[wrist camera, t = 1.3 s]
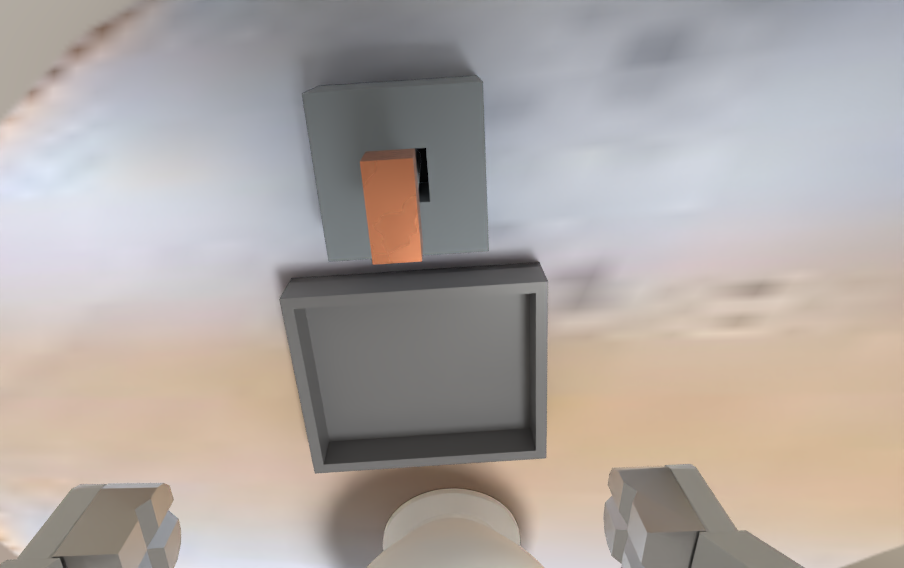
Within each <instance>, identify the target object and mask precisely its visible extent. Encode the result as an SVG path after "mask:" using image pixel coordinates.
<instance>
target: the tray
mask: <svg viewBox="0 0 904 568" xmlns="http://www.w3.org/2000/svg"><path fill="white" fill-rule="evenodd" d="M280 304H281V309H282V314H283V319H284V324H285V329H286V334H287V339H288V344H289V349H290V353H291V358H292V363H293V368H294V373H295V378H296V383H297V388H298V393H299V398H300V403H301V408H302V413H303V417H304V422H305V427H306V432H307V437H308V442H309V447H310V452H311V457H312V462H313V467H314V472H315V473H329V472H344V471H359V470H374V469H390V468H405V467H420V466H435V465H451V464H466V463H481V462H496V461H511V460H527V459H542V458H546V436H547V334H548V280H547V278H546V276H545V274H544V272H543V269H542V267H541V265H540V263H539V262H535V263H520V264H505V265H490V266H474V267H459V268H444V269H429V270H413V271H398V272H383V273H368V274H352V275H337V276H322V277H307V278H292V279H291V280H290V282H289V284H288V285H287V287H286V289H285V291H284V292H283V294H282V296H281V297H280Z"/></svg>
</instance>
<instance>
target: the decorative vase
mask: <svg viewBox="0 0 904 568" xmlns="http://www.w3.org/2000/svg"><path fill="white" fill-rule="evenodd" d="M367 568H544V567H543V566H542V565H541V564H540V563H539V562H538V561H537V560H536V559H535V558H534V557H533V556H532V555H531V554H529V553H528V552H527V551H526V550H524V549H523V548H522V547H520V533H519V528H518V525H517V522H516V520H515V518H514V517H513V515H512V514H511V512H510V511H509V510H508V509H507V508H506V507H505V506H504V505H503V504H502V503H500V502H499V501H497V500H496V499H494V498H492V497H490V496H488V495H486V494H483V493H480V492H477V491H473V490H467V489H457V488H450V489H439V490H434V491H430V492H426V493H423V494H421V495H418V496H416V497H414V498H412V499H410V500H408V501H407V502H405V503H404V504H403V505H401V506H400V507H399V508H398V509H397V510H396V511H395V512H394V513H393V514H392V516H391V517H390V519H389V520H388V522H387V524H386V527H385V530H384V535H383V552H382V553H381V554H380V555H379V556H378V557H377V558H375V559H374V560H373V561H372V562H371V563H370V564H369V565H368V566H367Z"/></svg>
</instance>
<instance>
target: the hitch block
mask: <svg viewBox="0 0 904 568" xmlns="http://www.w3.org/2000/svg"><path fill="white" fill-rule="evenodd" d="M302 98H303V104H304V111H305V117H306V123H307V129H308V136H309V142H310V148H311V155H312V161H313V167H314V173H315V180H316V186H317V192H318V198H319V205H320V211H321V217H322V224H323V230H324V236H325V242H326V249H327V255H328V261H329V262H333V261H348V260H364V259H372V255H371V247H370V239H369V231H368V223H367V215H366V207H365V199H364V192H363V184H362V176H361V168H360V160H361V159H362V157H363V155H364V154H365V152H367V151H382V150H398V149H413V148H415V149H416V148H426V154H427V167H428V180H429V182H423V183H419V189H418V191H419V203H420V215H421V227H422V238H423V254H422V256H425V255H440V254H455V253H470V252H486V251H489V244H488V215H487V187H486V159H485V131H484V103H483V81H482V80H481V79H480V78H479V77H478V76H462V77H447V78H432V79H417V80H401V81H386V82H371V83H356V84H340V85H325V86H318V87H315V88H313V89H311V90H308V91H306V92H304V93H302Z"/></svg>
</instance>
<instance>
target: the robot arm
mask: <svg viewBox="0 0 904 568" xmlns="http://www.w3.org/2000/svg"><path fill="white" fill-rule="evenodd" d="M608 486H609V489H610V491H611V494H612V496H611V497H610V498H609V499H608V500H607V501H606V502H605V507H604V531H605V536H606V540H607V544H608V547H609V550H610V553H611V555H612V556H613V557H614V558H615V559H616V560H617V561H619V562H620V563H621V564H622V565H621V568H804V567H803V566H801V565H800V564H798V563H796V562H795V561H793V560H792V559H790V558H789V557H787V556H785V555H784V554H782V553H781V552H779V551H778V550H776V549H774V548H773V547H771V546H770V545H768V544H767V543H765V542H763V541H762V540H760V539H759V538H757V537H756V536H754V535H752V534H751V533H749V532H748V531H746V530H745V531H738V530H737V528H736V527H735V525H734V524H733V522H732V521H731V519H730V518H729V516H728V515H727V513H726V512H725V510H724V509H723V507H722V506H721V504H720V503H719V501H718V500H717V498H716V497H715V495H714V494H713V492H712V491H711V489H710V488H709V486H708V485H707V483H706V482H705V480H704V479H703V477H702V476H701V474H700V473H699V471H698V470H697V468H696V467H695V466H693V465H692V464H681V465H665V466H647V467H623V468H612V470H611V472H610V474H609V480H608ZM173 500H174V499H173V496H172V492H171V489H170V486H169V485H167V484H164V483H124V484H80V485H78V486H77V487H75V488H73V489H71V490H70V492H69V493H68V494H67V495H66V497H65V498H64V499H63V500H62V502H61V503H60V504H59V506H58V507H57V508H56V509H55V511H54V512H53V513H52V515H51V516H50V517H49V518H48V520H47V521H46V522H45V523H44V525H43V526H42V527H41V529H40V530H39V531H38V532H37V534H36V535H35V536H34V538H33V539H32V540H31V541H30V543H29V544H28V545H27V546H26V548H25V549H24V550H23V552H22V553H21V554H20V555H19V557H18V558H17V559H16V560H6V561H5V562H3V563H1V564H0V568H174V566H175V564H176V562H177V559H178V554H179V550H180V545H181V528H180V523H179V519H178V518H177V517H176V516H175V515H173V514H172V513H171V512H170V511H169V508H170V506H171V504H172V502H173Z"/></svg>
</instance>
